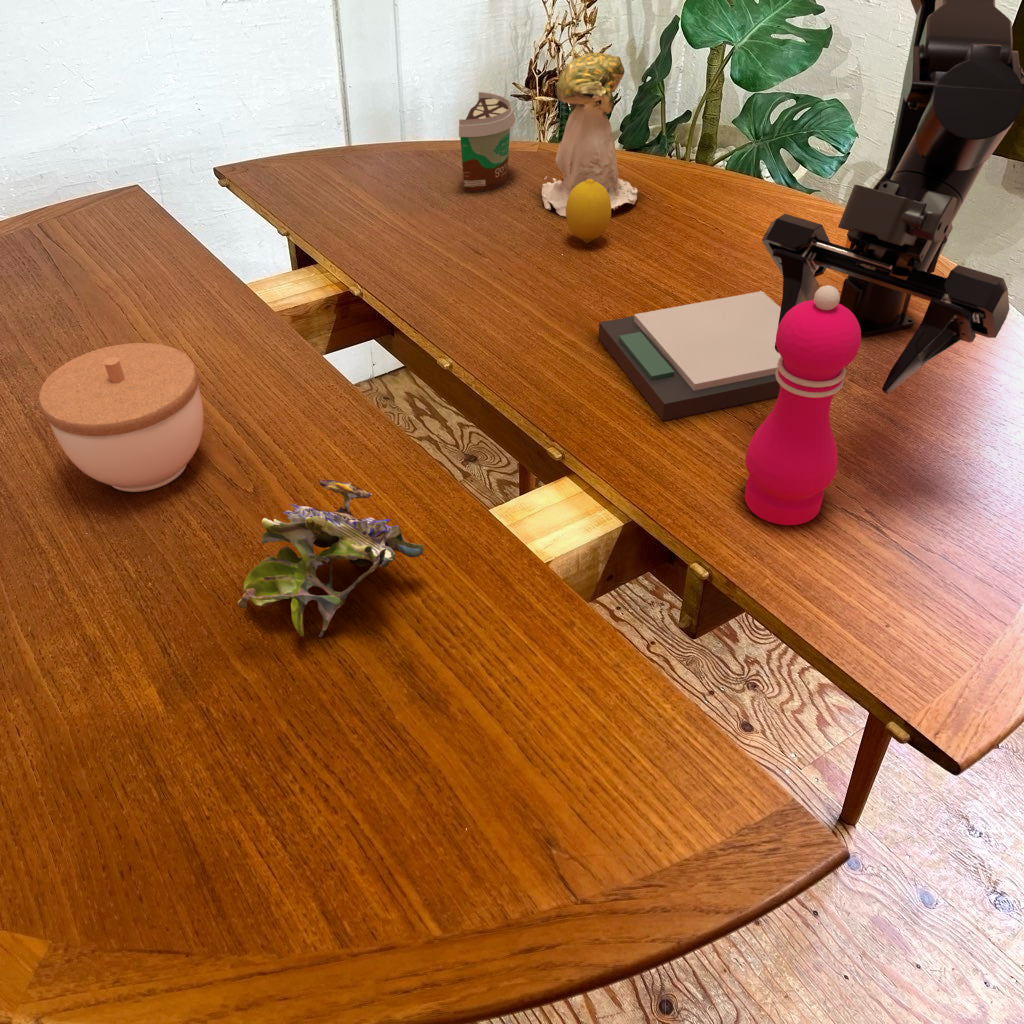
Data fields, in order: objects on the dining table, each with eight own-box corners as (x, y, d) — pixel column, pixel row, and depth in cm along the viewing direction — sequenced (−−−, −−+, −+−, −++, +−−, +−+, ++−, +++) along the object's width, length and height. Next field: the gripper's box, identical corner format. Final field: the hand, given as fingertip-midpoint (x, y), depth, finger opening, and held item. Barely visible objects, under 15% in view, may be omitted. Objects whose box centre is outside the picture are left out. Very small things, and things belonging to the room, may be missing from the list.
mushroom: (652, 211, 126) (665, 63, 114) (560, 225, 123) (564, 74, 111) (617, 178, 134) (626, 37, 123) (530, 190, 132) (531, 46, 120)
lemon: (617, 238, 120) (621, 175, 115) (596, 256, 116) (599, 192, 111) (578, 229, 122) (580, 167, 117) (556, 245, 119) (557, 182, 114)
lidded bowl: (67, 445, 89) (26, 341, 81) (205, 413, 92) (177, 310, 85) (78, 528, 80) (33, 419, 73) (230, 489, 83) (201, 381, 76)
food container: (505, 199, 130) (504, 123, 123) (461, 196, 131) (458, 120, 124) (523, 165, 139) (523, 93, 132) (481, 162, 140) (479, 90, 133)
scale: (757, 308, 106) (761, 285, 104) (838, 384, 95) (844, 359, 93) (598, 338, 102) (599, 315, 100) (662, 421, 90) (665, 396, 88)
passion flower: (365, 613, 79) (444, 514, 74) (331, 701, 70) (418, 595, 65) (246, 541, 77) (318, 433, 71) (194, 622, 68) (272, 505, 62)
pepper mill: (738, 525, 79) (779, 308, 66) (737, 471, 84) (775, 260, 71) (829, 534, 78) (888, 315, 65) (822, 479, 83) (876, 266, 70)
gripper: (794, 110, 73) (697, 295, 74) (1049, 169, 63) (934, 382, 64) (824, 181, 82) (737, 344, 83) (1049, 242, 73) (948, 426, 74)
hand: (829, 371), depth 76 cm, fingers open, 9 cm apart
